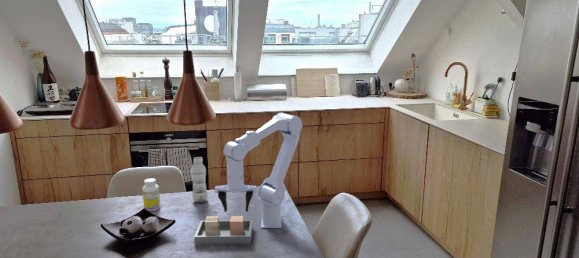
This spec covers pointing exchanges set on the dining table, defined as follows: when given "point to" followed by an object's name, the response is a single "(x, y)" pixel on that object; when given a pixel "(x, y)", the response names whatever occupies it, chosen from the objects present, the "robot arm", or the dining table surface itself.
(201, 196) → the plastic bottle
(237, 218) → the terracotta block
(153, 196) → the supplement bottle
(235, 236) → the slate tray
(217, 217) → the beech block
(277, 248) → the dining table surface
